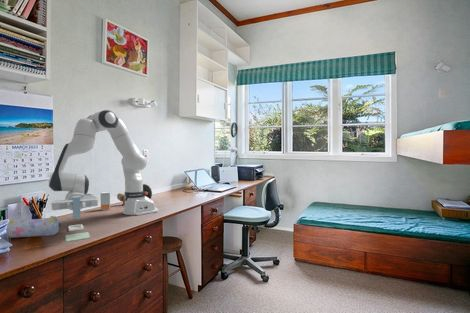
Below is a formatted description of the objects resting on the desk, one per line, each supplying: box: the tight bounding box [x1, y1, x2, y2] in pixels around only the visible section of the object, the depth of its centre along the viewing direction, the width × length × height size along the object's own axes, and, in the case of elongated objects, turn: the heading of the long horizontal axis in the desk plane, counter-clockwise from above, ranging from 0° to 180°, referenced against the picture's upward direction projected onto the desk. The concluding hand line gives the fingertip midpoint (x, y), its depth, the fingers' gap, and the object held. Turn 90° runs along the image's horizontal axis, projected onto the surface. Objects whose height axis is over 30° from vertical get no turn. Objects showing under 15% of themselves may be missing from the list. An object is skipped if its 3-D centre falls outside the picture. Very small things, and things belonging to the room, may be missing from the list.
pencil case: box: [6, 215, 61, 239], centre depth 139 cm, size 21×9×10 cm, turn 104°
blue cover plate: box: [72, 196, 81, 220], centre depth 136 cm, size 3×4×10 cm, turn 32°
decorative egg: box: [143, 183, 153, 200], centre depth 215 cm, size 12×12×15 cm
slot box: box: [67, 223, 85, 233], centre depth 149 cm, size 7×8×2 cm
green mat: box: [65, 231, 91, 243], centre depth 137 cm, size 10×10×1 cm
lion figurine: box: [116, 192, 125, 206], centre depth 212 cm, size 15×5×9 cm, turn 114°
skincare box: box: [100, 191, 111, 211], centre depth 196 cm, size 6×4×12 cm
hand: (76, 206), depth 135 cm, fingers closed on blue cover plate, 3 cm apart
